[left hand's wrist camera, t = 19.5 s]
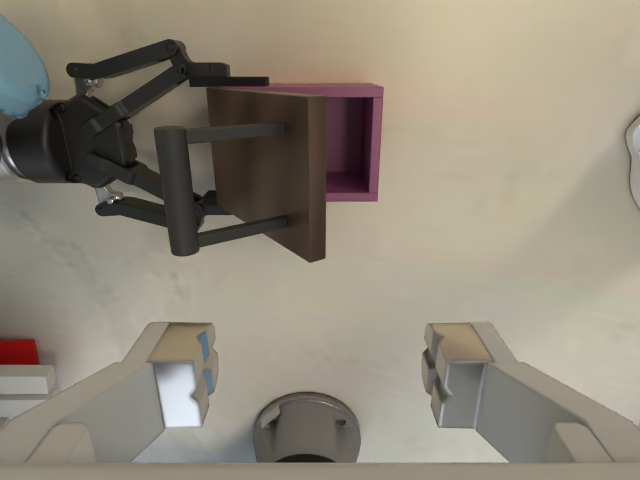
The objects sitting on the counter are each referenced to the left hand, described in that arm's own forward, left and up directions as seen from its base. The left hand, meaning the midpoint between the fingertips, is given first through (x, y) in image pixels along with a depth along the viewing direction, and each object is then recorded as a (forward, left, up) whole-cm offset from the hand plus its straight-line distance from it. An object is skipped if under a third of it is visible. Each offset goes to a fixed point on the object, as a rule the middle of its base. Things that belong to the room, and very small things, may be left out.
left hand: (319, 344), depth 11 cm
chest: (+1, -2, -38) cm, 38 cm away
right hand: (+2, -4, -31) cm, 31 cm away
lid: (+1, -3, -22) cm, 22 cm away
